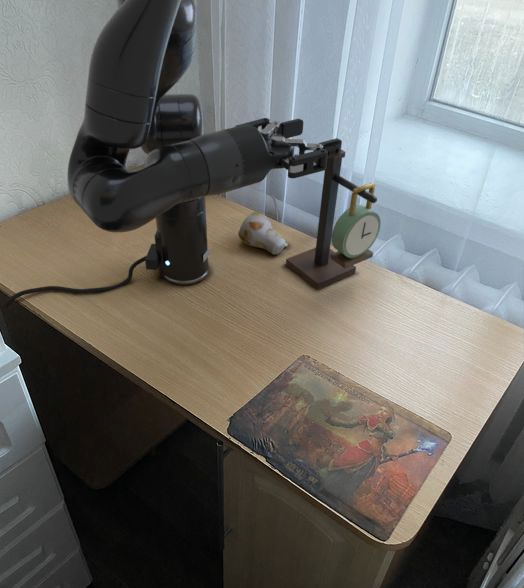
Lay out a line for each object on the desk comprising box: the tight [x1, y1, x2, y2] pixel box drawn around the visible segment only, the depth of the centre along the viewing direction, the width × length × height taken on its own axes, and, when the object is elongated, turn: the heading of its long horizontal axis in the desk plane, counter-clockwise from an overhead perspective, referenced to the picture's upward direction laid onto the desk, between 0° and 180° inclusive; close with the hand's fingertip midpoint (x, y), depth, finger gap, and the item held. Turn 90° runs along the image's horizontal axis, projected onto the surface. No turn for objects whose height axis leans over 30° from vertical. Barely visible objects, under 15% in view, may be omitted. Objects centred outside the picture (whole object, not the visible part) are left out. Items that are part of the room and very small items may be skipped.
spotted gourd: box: [237, 211, 288, 256], centre depth 112 cm, size 8×10×10 cm
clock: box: [331, 182, 382, 268], centre depth 94 cm, size 9×4×14 cm, turn 126°
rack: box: [285, 149, 378, 290], centre depth 98 cm, size 16×10×24 cm, turn 36°
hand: (319, 135), depth 77 cm, fingers open, 8 cm apart
